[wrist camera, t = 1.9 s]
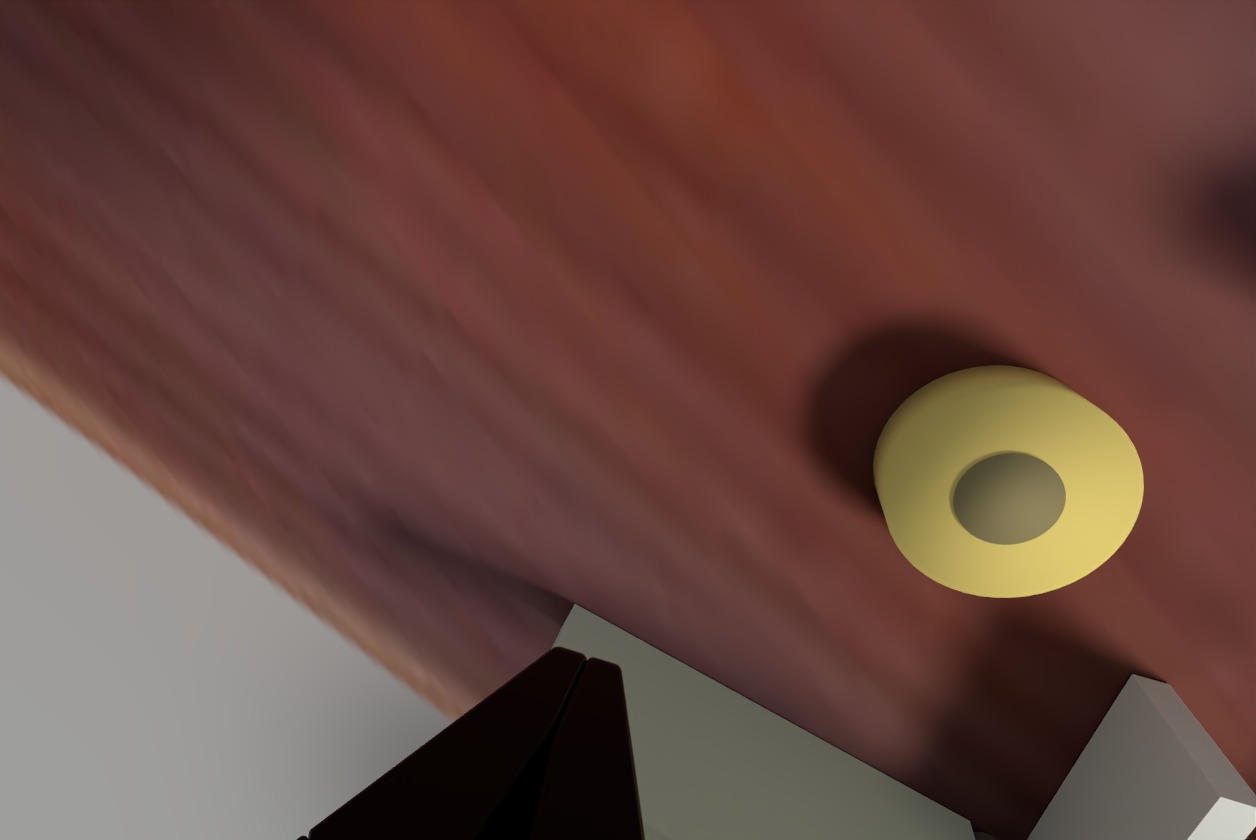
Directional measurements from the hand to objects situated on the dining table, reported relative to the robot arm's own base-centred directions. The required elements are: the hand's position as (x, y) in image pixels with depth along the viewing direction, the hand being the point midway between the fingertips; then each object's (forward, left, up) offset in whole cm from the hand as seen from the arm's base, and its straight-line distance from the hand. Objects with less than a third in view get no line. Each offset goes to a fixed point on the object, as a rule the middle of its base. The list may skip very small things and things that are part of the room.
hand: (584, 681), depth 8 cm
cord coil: (0, -8, -12) cm, 14 cm away
